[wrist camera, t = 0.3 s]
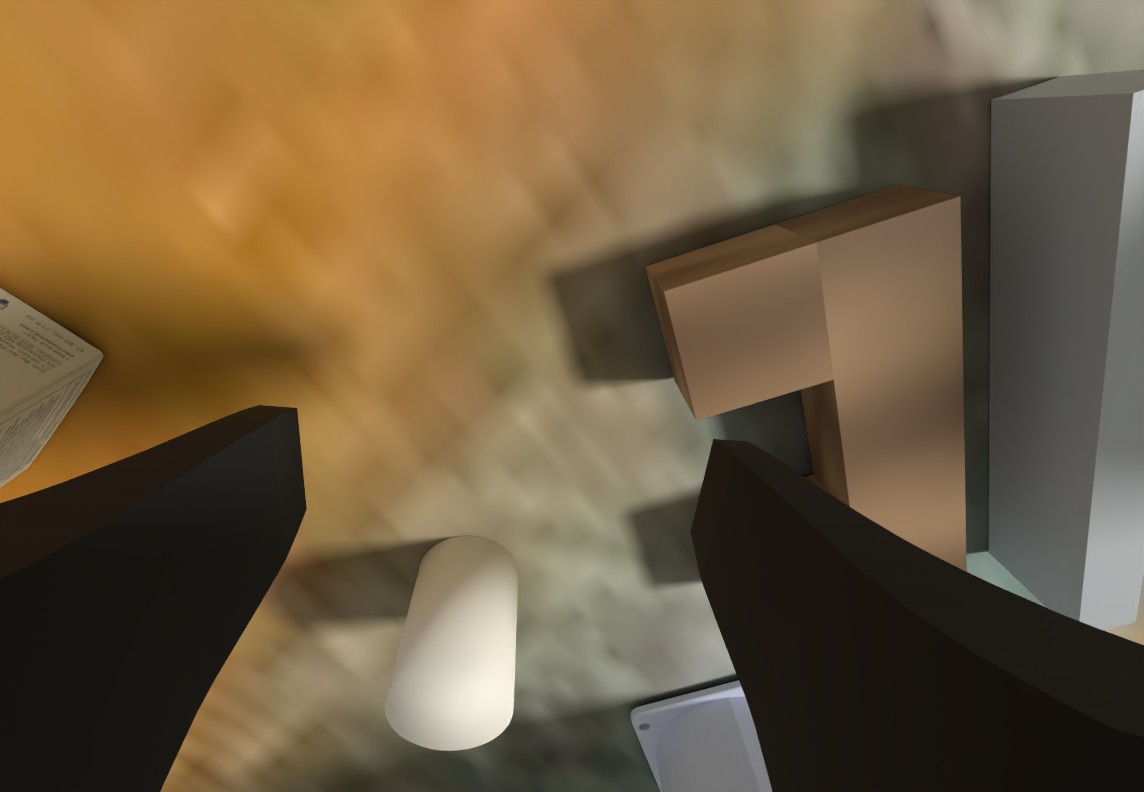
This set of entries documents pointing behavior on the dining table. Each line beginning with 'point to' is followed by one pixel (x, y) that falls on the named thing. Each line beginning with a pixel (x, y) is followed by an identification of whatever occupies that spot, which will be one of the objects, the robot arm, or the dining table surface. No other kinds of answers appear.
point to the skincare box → (36, 381)
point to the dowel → (457, 648)
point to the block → (841, 349)
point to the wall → (1069, 343)
